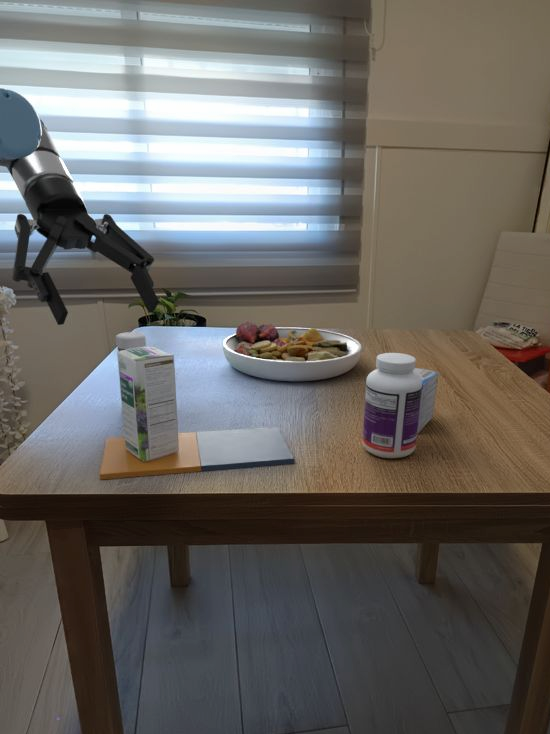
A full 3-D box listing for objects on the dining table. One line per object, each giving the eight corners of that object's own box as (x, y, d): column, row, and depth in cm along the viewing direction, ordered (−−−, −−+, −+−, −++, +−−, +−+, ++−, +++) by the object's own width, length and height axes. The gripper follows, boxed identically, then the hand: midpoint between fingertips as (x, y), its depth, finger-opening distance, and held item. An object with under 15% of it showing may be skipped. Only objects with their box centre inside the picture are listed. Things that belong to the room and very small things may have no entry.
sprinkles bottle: (151, 416, 96) (144, 337, 91) (122, 418, 95) (114, 338, 90) (151, 406, 100) (145, 330, 95) (123, 408, 99) (116, 331, 94)
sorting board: (100, 479, 75) (99, 474, 75) (107, 442, 86) (106, 437, 85) (294, 463, 81) (294, 458, 81) (278, 430, 92) (278, 426, 92)
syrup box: (123, 449, 82) (113, 350, 76) (161, 439, 85) (154, 344, 80) (143, 463, 78) (133, 360, 72) (181, 452, 82) (175, 353, 76)
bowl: (380, 359, 133) (383, 326, 130) (321, 396, 108) (322, 355, 105) (270, 341, 145) (270, 310, 142) (194, 370, 120) (192, 333, 117)
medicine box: (408, 414, 101) (413, 366, 98) (433, 419, 99) (439, 371, 96) (392, 428, 95) (397, 378, 91) (418, 434, 93) (424, 383, 89)
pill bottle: (404, 437, 91) (413, 349, 86) (423, 459, 84) (434, 364, 79) (355, 440, 90) (361, 350, 84) (370, 462, 82) (377, 366, 77)
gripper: (121, 212, 95) (177, 317, 92) (-48, 212, 78) (13, 341, 75) (135, 178, 90) (195, 288, 86) (-43, 169, 73) (23, 306, 69)
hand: (111, 313), depth 80 cm, fingers open, 13 cm apart
